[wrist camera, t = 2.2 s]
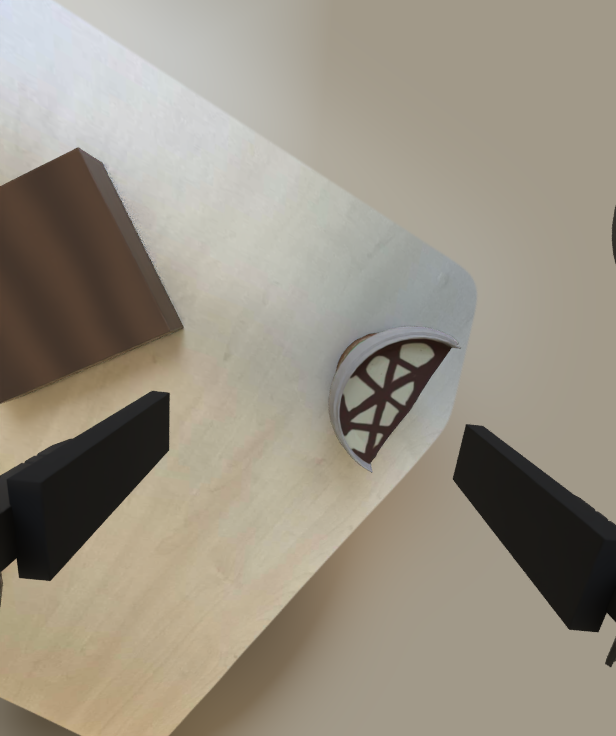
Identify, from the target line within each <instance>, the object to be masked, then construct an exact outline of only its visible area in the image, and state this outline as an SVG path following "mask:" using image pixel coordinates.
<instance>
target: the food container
mask: <svg viewBox="0 0 616 736" xmlns="http://www.w3.org/2000/svg"><path fill="white" fill-rule="evenodd" d="M458 344H459V343H458V342H457V341H456V340H455V339H454V338H453V337H451V336H449V335H447V334H445V333H443V332H441V331H438V330H435V329H431V328H426V327H419V326H404V327H398V328H392V329H389V330H386V331H383V332H380V333H373V334H368V335H366V336H364V337H362V338H360V339H357V340H355V341H354V342H353V343H352V344H351V345H350V346H349V347H348V348H347V349H346V350H345V351H344V353H343V354H342V356H341V358H340V360H339V362H338V365H337V370H336V374H335V376H334V379H333V382H332V385H331V388H330V394H329V415H330V421H331V424H332V427H333V430H334V433H335V435H336V436H337V438H338V440H339V442H340V443H341V445H342V446H343V447H344V449H345V450H346V451H347V453H348V454H349V455H350V456H351V458H353V459H354V460H355V461H356V462H357V463H358V464H359V465H360V466H362V467H363V468H365V469H367V470H368V471H370V472H371V473H372V467H371V462H372V460H373V459H374V458H375V457H376V455H377V453H378V451H379V450H380V448H381V447H382V445H383V444H384V443H385V441H386V440H387V438H388V437H389V436H390V434H391V433H392V432H393V431H394V429H395V428H396V427H397V426H398V424H399V423H400V422H401V421H402V420H403V418H404V417H405V416H406V415H407V413H408V412H409V411H410V410H411V408H412V406H413V405H414V403H415V402H416V400H417V398H418V397H419V395H420V393H421V392H422V390H423V389H424V387H425V385H426V384H427V382H428V381H429V379H430V378H431V376H432V375H433V374H434V372H435V371H436V369H437V368H438V366H439V365H440V364H441V362H442V361H443V359H444V358H445V357H446V355H447V354H448V352H449V351H450V349H451V347H452V348H459V349H461V347H459V346H457V345H458Z"/></svg>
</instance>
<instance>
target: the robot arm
mask: <svg viewBox="0 0 616 736" xmlns="http://www.w3.org/2000/svg"><path fill="white" fill-rule="evenodd" d="M169 401H170V393H167V392H157V391H151V392H149V393H148V394H146V395H144V396H143V397H141V398H139V399H138V400H136V401H135V402H133V403H131V404H130V405H128V406H126V407H125V408H123V409H121V410H120V411H118V412H116V413H115V414H113V415H111V416H110V417H108V418H106V419H105V420H103V421H102V422H100V423H98V424H97V425H95V426H93V427H92V428H90V429H88V430H87V431H85V432H83V433H82V434H80V435H78V436H77V437H75V438H74V439H69V440H66V441H63V442H60V443H57V444H55V445H52V446H50V447H48V448H47V449H45V450H43V451H42V452H40V453H38V454H37V456H33V457H31V458H30V459H28V460H26V461H25V463H21V464H19V465H18V466H16V467H14V468H12V469H11V470H9V471H7V472H6V473H4V474H2V475H0V605H1V596H2V587H3V581H2V574H1V572H2V571H3V570H4V569H5V568H6V567H7V566H8V565H9V564H10V563H12V562H13V561H14V560H15V559H16V558H17V565H18V573H19V578H25V579H35V580H46V581H51V580H52V579H53V578H54V576H55V575H56V574H57V573H58V572H59V571H60V570H61V569H62V568H63V567H64V565H65V564H66V563H67V562H68V561H69V560H70V559H71V558H72V557H73V556H74V554H75V553H76V552H77V551H78V550H79V549H80V548H81V547H82V546H83V545H84V543H85V542H86V541H87V540H88V539H89V538H90V537H91V536H92V535H93V533H94V532H95V531H96V530H97V529H98V528H99V527H100V526H101V525H102V524H103V522H104V521H105V520H106V519H107V518H108V517H109V516H110V515H111V514H112V513H113V511H114V510H115V509H116V508H117V507H118V506H119V505H120V504H121V503H122V502H123V500H124V499H125V498H126V497H127V496H128V495H129V494H130V493H131V492H132V491H133V489H134V488H135V487H136V486H137V485H138V484H139V483H140V482H141V481H142V480H143V478H144V477H145V476H146V475H147V474H148V473H149V472H150V471H151V470H152V469H153V467H154V466H155V465H156V464H157V463H158V462H159V461H160V460H161V459H162V457H163V456H164V455H165V454H166V453H167V452H168V451H169ZM453 480H454V482H455V483H456V484H457V485H458V487H459V488H460V489H461V491H462V492H463V493H464V494H465V496H466V497H467V498H468V499H469V501H470V502H471V503H472V505H473V506H474V507H475V509H476V510H477V511H478V513H479V514H480V515H481V516H482V518H483V519H484V520H485V522H486V523H487V524H488V525H489V527H490V528H491V529H492V531H493V532H494V533H495V534H496V536H497V537H498V538H499V540H500V541H501V542H502V544H503V545H504V546H505V547H506V549H507V550H508V551H509V553H511V555H512V556H513V558H514V559H515V560H516V562H517V563H518V564H519V565H520V567H521V568H522V569H523V571H524V572H525V573H526V574H527V576H528V577H529V578H530V580H531V581H532V582H533V584H534V585H535V586H536V587H537V588H538V590H539V591H540V592H541V594H542V595H543V596H544V598H545V599H546V600H547V601H548V603H549V604H550V605H551V607H552V608H553V609H554V611H555V612H556V613H557V615H558V616H559V617H560V618H561V620H562V621H563V622H564V624H565V625H566V626H567V627H568V629H569V630H579V631H590V632H599V630H600V627H601V625H602V622H603V620H604V618H605V615H606V613H608V614H609V615H610V616H611V617H612V619H613V620H614V621H615V622H616V525H615V524H614V523H613V522H611V521H608V519H607V518H606V517H605V516H603V515H602V514H601V513H599V512H596V511H595V509H594V508H593V507H591V506H590V505H589V504H587V503H586V502H585V501H583V500H582V499H581V498H579V497H577V496H575V495H573V494H572V493H571V492H569V491H568V490H567V489H566V488H564V487H563V486H562V485H560V484H559V483H558V482H556V481H555V480H554V479H552V478H551V477H550V476H548V475H547V474H546V473H544V472H543V471H542V470H541V469H539V468H538V467H537V466H535V465H534V464H533V463H531V462H530V461H529V460H527V459H526V458H525V457H523V456H522V455H521V454H519V453H518V452H517V451H515V450H514V449H513V448H511V447H510V446H509V445H507V444H506V443H505V442H504V441H502V440H500V438H498V437H497V436H495V435H494V434H493V433H492V432H490V431H489V430H488V429H486V428H485V427H484V426H478V425H468V424H466V427H465V431H464V435H463V439H462V443H461V448H460V451H459V456H458V460H457V464H456V468H455V472H454V476H453ZM615 661H616V638H615V640H614V642H613V645H612V647H611V649H610V652H609V654H608V656H607V659H606V662H605V664H607V665H608V666H610V667H611V666H612V664H613V662H615Z"/></svg>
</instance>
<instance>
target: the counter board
mask: <svg viewBox="0 0 616 736" xmlns="http://www.w3.org/2000/svg"><path fill="white" fill-rule="evenodd" d="M182 328H183V325H182V323H181V321H180V319H179V317H178V315H177V313H176V311H175V309H174V307H173V305H172V303H171V301H170V299H169V297H168V295H167V293H166V291H165V289H164V287H163V285H162V283H161V281H160V279H159V277H158V275H157V273H156V271H155V269H154V267H153V265H152V263H151V261H150V259H149V257H148V255H147V253H146V251H145V249H144V247H143V245H142V243H141V240H140V238H139V236H138V234H137V232H136V230H135V228H134V226H133V224H132V222H131V220H130V218H129V216H128V214H127V212H126V210H125V208H124V206H123V204H122V202H121V200H120V198H119V196H118V194H117V192H116V190H115V188H114V186H113V184H112V182H111V180H110V178H109V176H108V174H107V172H106V170H105V168H104V166H103V164H102V162H100V161H99V160H97V159H96V158H94V157H92V156H91V155H89V154H88V153H86V152H85V151H83V150H81V149H80V148H76V149H74V150H72V151H70V152H68V153H66V154H64V155H62V156H60V157H58V158H56V159H54V160H52V161H50V162H48V163H46V164H44V165H42V166H40V167H38V168H36V169H34V170H32V171H30V172H28V173H26V174H24V175H22V176H20V177H18V178H16V179H14V180H12V181H10V182H8V183H6V184H4V185H2V186H0V404H2V403H5V402H8V401H11V400H13V399H16V398H19V397H21V396H23V395H26V394H28V393H31V392H33V391H35V390H38V389H40V388H42V387H45V386H47V385H49V384H52V383H54V382H57V381H59V380H61V379H64V378H66V377H68V376H71V375H73V374H76V373H78V372H80V371H83V370H85V369H87V368H90V367H92V366H94V365H97V364H99V363H102V362H104V361H106V360H109V359H111V358H113V357H116V356H118V355H121V354H123V353H125V352H128V351H130V350H132V349H135V348H137V347H139V346H142V345H144V344H147V343H149V342H151V341H154V340H156V339H158V338H161V337H163V336H165V335H168V334H170V333H173V332H175V331H177V330H180V329H182Z"/></svg>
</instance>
